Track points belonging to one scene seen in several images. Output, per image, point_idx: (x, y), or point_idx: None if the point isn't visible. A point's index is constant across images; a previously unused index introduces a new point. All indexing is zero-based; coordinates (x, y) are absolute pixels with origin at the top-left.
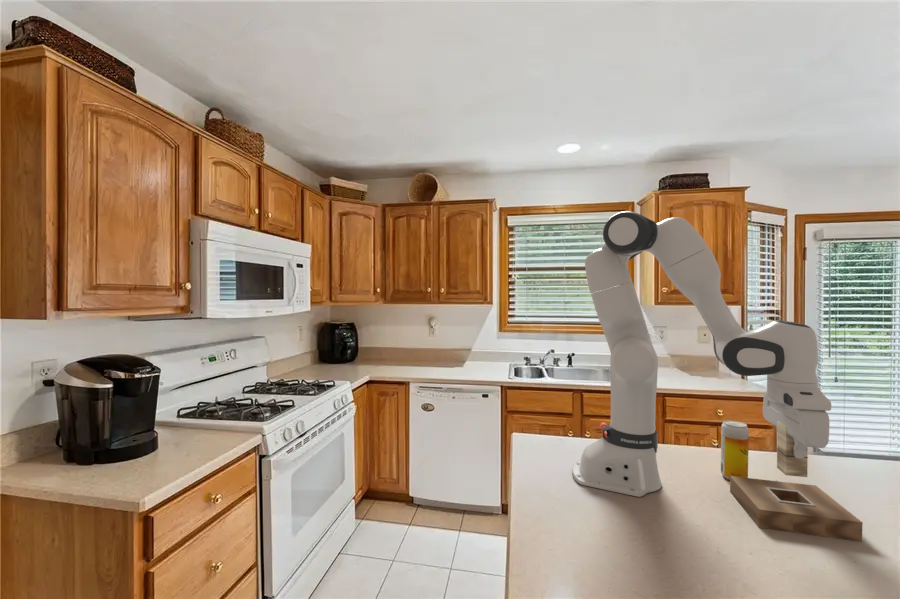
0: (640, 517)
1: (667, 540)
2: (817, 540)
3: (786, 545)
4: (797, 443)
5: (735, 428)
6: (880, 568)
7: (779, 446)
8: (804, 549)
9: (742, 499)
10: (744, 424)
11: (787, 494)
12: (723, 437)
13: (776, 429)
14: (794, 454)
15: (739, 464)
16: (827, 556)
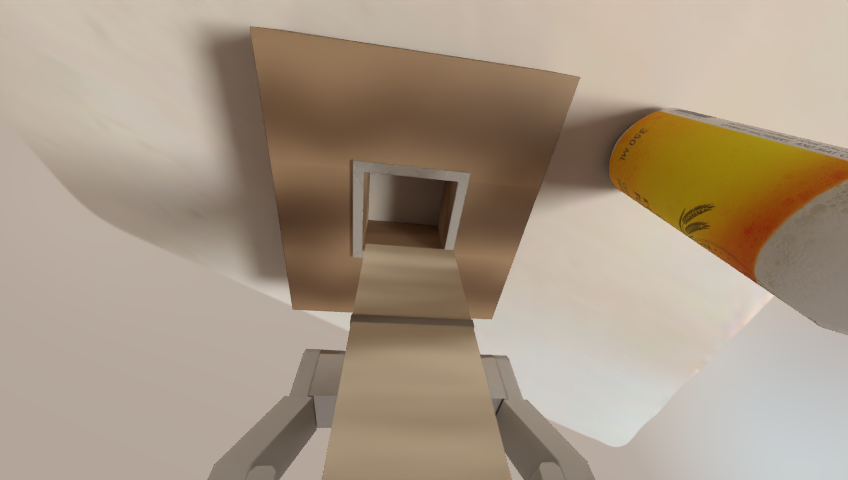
0: None
1: None
2: (270, 185)
3: (187, 68)
4: (214, 474)
5: None
6: (193, 248)
7: (443, 348)
8: (192, 117)
9: (431, 53)
10: None
11: (446, 227)
12: None
13: (584, 470)
14: (304, 361)
15: (654, 173)
16: (184, 162)
